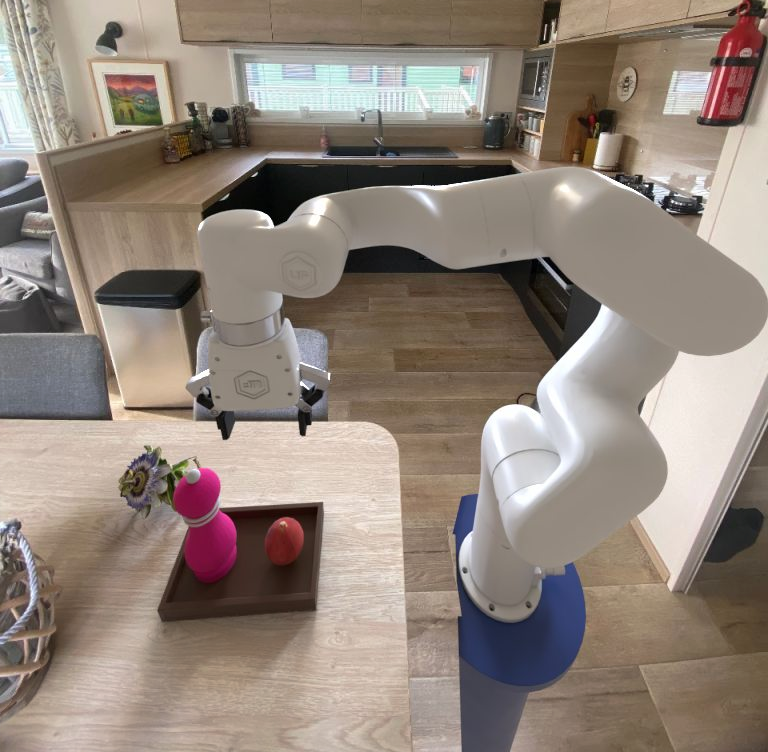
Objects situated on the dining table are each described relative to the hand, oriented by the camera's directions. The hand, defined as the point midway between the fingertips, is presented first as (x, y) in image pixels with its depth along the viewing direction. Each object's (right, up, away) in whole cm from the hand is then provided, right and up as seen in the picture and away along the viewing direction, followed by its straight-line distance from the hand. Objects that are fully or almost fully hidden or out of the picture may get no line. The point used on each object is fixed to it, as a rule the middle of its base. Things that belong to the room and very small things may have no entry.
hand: (267, 428), depth 51 cm
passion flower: (-25, -22, +21) cm, 39 cm away
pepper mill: (-11, -26, +10) cm, 30 cm away
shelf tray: (-6, -26, +11) cm, 29 cm away
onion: (0, -25, +11) cm, 28 cm away
